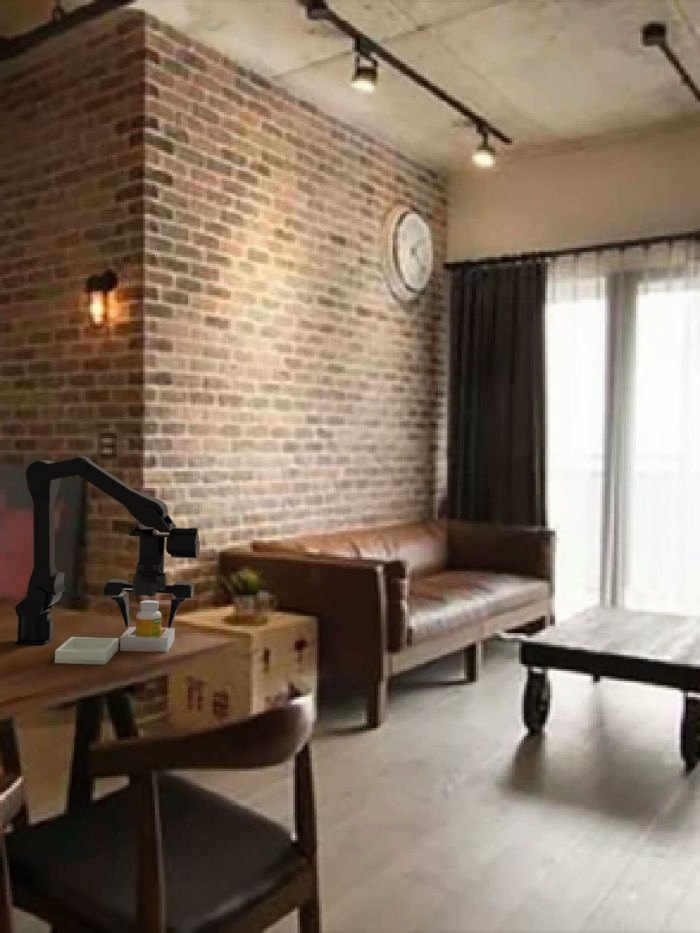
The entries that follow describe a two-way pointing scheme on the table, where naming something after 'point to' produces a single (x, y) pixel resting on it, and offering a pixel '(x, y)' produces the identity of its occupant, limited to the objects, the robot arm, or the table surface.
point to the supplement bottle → (148, 619)
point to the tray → (86, 650)
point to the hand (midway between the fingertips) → (148, 627)
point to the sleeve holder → (147, 641)
